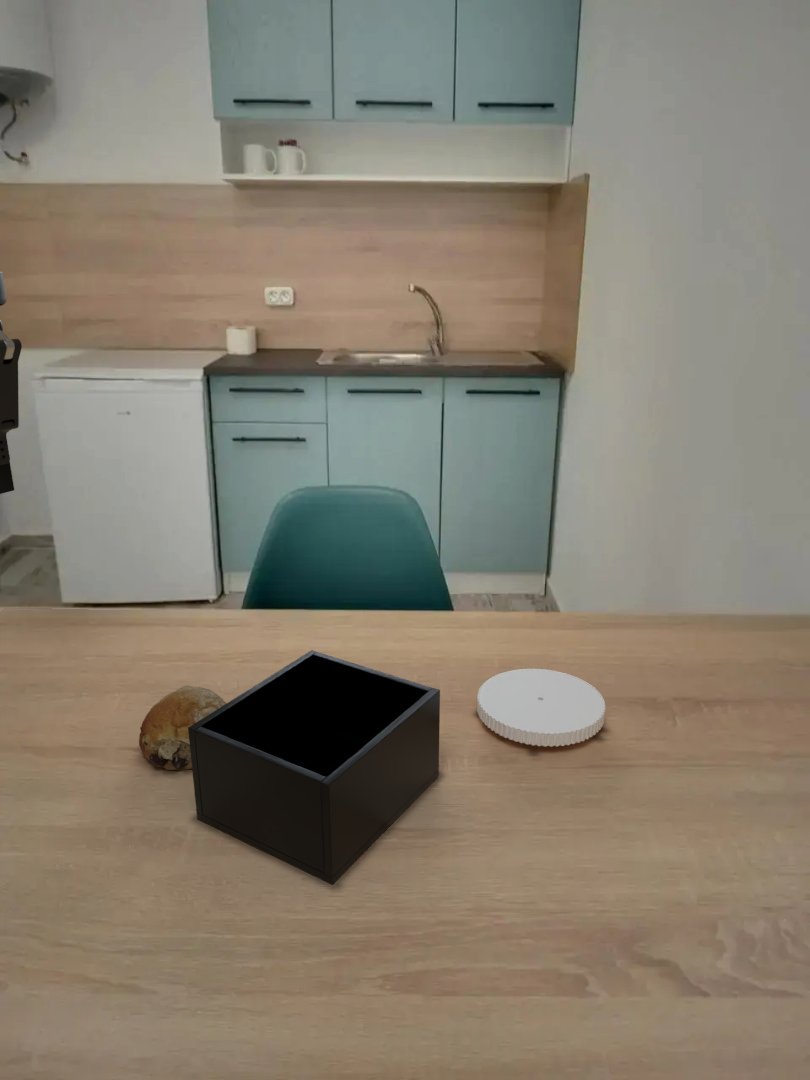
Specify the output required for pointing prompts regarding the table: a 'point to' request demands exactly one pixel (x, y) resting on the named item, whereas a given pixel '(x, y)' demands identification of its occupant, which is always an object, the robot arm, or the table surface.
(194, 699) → the bread roll
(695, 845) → the table surface
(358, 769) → the black storage bin
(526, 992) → the table surface
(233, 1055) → the table surface
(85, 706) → the table surface
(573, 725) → the plastic lid
